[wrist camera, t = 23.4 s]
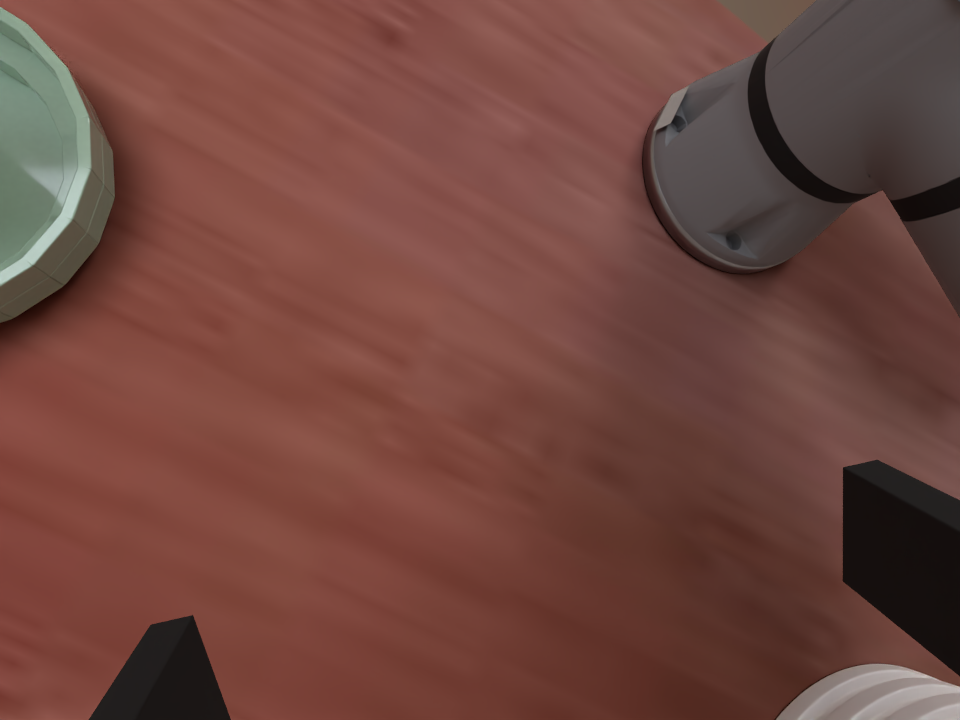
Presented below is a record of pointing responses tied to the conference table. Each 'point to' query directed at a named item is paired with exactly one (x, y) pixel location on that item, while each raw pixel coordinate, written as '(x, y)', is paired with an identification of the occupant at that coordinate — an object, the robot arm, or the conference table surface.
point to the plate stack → (876, 696)
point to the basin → (46, 171)
